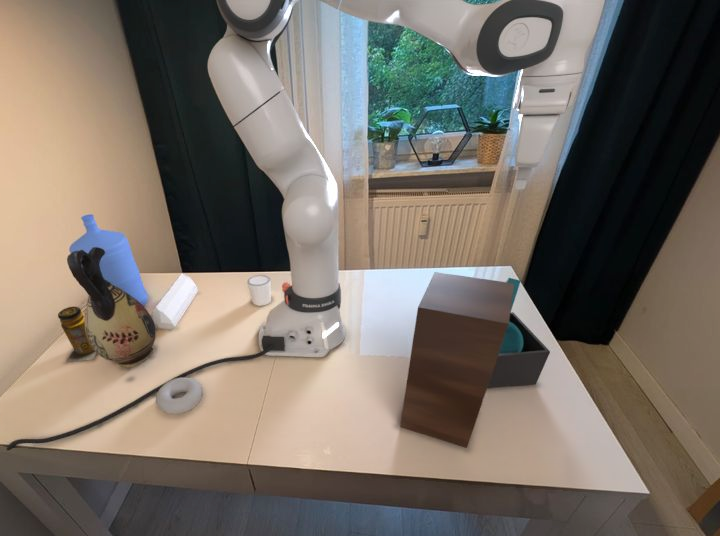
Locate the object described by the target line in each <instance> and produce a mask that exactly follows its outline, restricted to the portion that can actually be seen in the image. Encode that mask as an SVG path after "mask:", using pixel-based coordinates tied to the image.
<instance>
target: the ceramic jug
mask: <svg viewBox="0 0 720 536" xmlns="http://www.w3.org/2000/svg"><path fill="white" fill-rule="evenodd" d="M104 254H105V251H104V249H102V248H98V247H93V248H92V249H91V250H90V251H89V253H86V252H85V251H83V250H80V251H74V252H72V253H70V254H68V255H67V258H66V261H67V265H68V269H69V270H70V272H71V275H72V276H73V278H74V279H75V281H76V282H78V284H79V286H81V288H82V289H83V290H84V291H85V292H86V293H87V295H88V297H87V300H86V306H85V312H84V316H85V319H84V324H85V331H86V335H87V338H88V341H89V343H90V345H91V347H92V348H93V350H94V351H95V352H96V353H97V354H96V355H98V356H100V357H101V358H103V359H105V360H106V361H111V362H113V363H116V364H118V365H119V366H121V367H123V368H125V369H126V368H127V369H128V368H129V369H131V368H132V367H135V366H138V365H140V364H142V363H144V362H146V361H147V360H148V359H150V358H151V356H152V355H153V352H154V348H153V346H154V344H155V340H156V336H157V332H156V331H157V329H156V328H155V324H154V321H153V319H152V317H151V313H150V312H149V311H148V309H146V307H145V305H144V306H143V305H142V304H141V303H140V302H139V301H138V300H136V299H135V298H134V297H132V296H131V295H129V294H128V293H126V292H125V291H123V290H122V289H120V288H118V287H116V286H114V285H112V284H111V283H110V282H108V281H107V280H105V279H104V278H103V276H102V273H101V270H100V265H99V264H100V260H101V258H102V257H103V255H104ZM81 264H82V265H81ZM82 267H83V268H82Z"/></svg>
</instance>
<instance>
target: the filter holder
mask: <svg viewBox="0 0 720 536" xmlns="http://www.w3.org/2000/svg"><path fill="white" fill-rule="evenodd" d="M505 282H508V283H514V290H513V297H512V304H511V311H510V313H511V312H512V309H513V307H514V303H515V299H516V297H517V294H518V290H519V288H520V284H521V280H519V279H516V278H512V277H508V278H507V280H506V281H505ZM523 343H524V342H523V336H522V334H521V332H520V330H519V329H518V328H517V327H516V326H515V325H514V324H513V323H511V322H510V321H509V324H508V327H507V330H506V333H505V336H504V339H503V342H502V345H501V348H500V351H499V354H506V353H518V352H521V351H522V349H523Z"/></svg>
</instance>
